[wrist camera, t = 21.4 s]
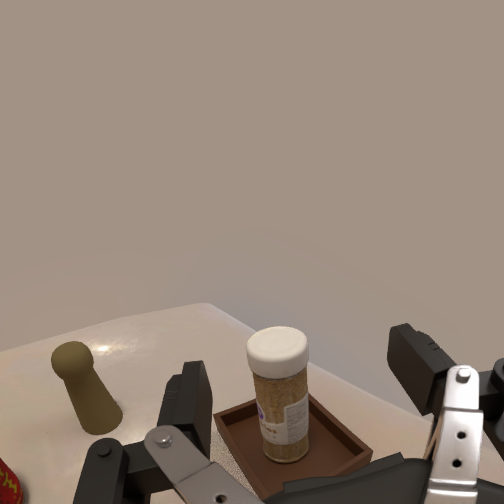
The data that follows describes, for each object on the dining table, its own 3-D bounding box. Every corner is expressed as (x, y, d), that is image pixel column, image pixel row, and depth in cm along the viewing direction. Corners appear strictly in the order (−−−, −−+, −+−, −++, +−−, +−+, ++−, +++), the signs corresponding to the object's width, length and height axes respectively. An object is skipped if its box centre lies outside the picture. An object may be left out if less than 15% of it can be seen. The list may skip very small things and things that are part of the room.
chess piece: (102, 398, 35) (72, 330, 32) (131, 413, 33) (100, 341, 29) (73, 422, 30) (35, 353, 27) (101, 441, 27) (60, 369, 24)
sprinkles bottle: (254, 445, 26) (233, 338, 23) (291, 425, 29) (282, 318, 25) (281, 473, 23) (268, 366, 19) (319, 448, 25) (321, 339, 21)
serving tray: (369, 465, 22) (373, 450, 21) (273, 519, 18) (271, 508, 17) (297, 396, 34) (296, 381, 33) (217, 429, 30) (212, 414, 29)
